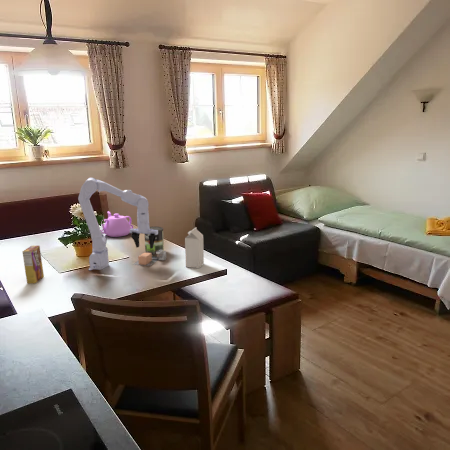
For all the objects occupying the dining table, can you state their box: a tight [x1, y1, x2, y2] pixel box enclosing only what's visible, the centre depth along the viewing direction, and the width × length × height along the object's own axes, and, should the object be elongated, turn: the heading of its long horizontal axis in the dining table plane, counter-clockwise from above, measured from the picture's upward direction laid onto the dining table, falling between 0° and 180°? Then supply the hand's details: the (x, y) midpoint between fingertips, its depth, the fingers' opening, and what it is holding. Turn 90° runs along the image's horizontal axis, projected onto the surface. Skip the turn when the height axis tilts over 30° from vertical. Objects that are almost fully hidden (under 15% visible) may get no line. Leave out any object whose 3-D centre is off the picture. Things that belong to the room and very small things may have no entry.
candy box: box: [22, 245, 45, 285], centre depth 190 cm, size 9×4×15 cm, turn 0°
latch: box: [155, 249, 167, 261], centre depth 215 cm, size 6×4×5 cm, turn 165°
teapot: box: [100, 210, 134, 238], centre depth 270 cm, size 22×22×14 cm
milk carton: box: [184, 226, 205, 269], centre depth 208 cm, size 7×7×19 cm
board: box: [131, 255, 159, 267], centre depth 215 cm, size 15×10×2 cm, turn 165°
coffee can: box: [144, 226, 165, 256], centre depth 229 cm, size 10×10×14 cm
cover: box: [137, 251, 153, 265], centre depth 212 cm, size 7×4×4 cm, turn 165°
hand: (144, 247), depth 211 cm, fingers open, 7 cm apart
